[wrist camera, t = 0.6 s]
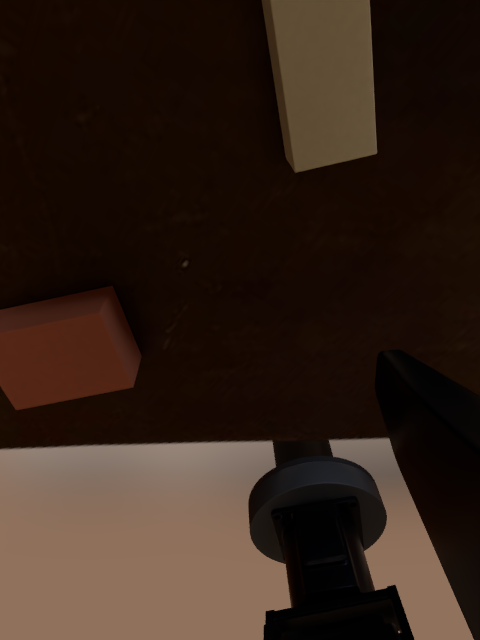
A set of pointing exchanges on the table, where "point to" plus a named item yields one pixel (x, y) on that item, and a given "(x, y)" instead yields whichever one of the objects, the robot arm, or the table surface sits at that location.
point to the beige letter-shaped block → (322, 79)
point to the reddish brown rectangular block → (66, 349)
